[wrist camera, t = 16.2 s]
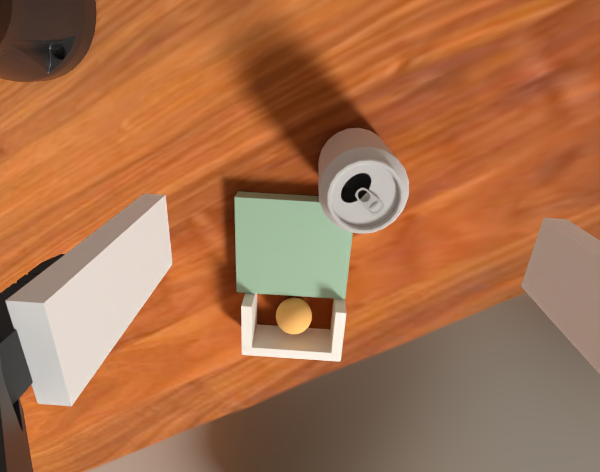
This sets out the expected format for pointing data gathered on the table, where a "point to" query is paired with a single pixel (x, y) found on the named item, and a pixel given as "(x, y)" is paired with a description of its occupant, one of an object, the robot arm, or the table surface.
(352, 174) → the can
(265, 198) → the board
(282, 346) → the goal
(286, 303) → the ball
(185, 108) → the table surface
